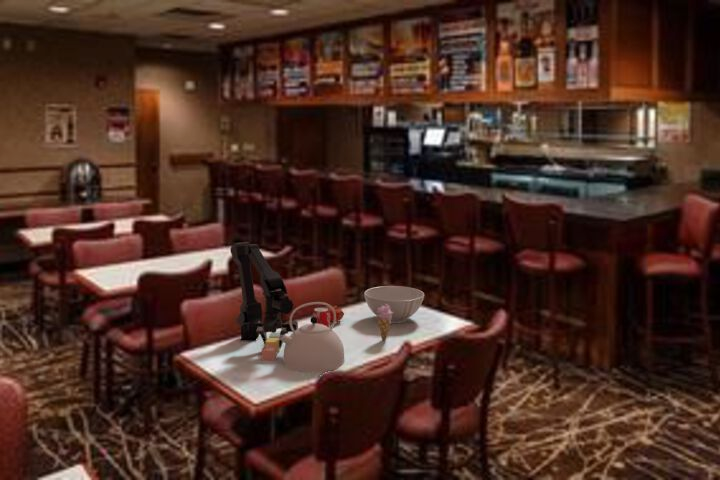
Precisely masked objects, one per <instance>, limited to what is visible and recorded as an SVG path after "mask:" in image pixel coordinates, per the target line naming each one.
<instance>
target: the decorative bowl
mask: <svg viewBox="0 0 720 480" xmlns="http://www.w3.org/2000/svg"><path fill="white" fill-rule="evenodd" d="M363 295H364V300H365V302H366V304H367V306H368V308H369V309H370V310H371V312H372V313H373V314H374V315H375V316H376V315H377V311H378V309H377V308H381V307H382V306H381V305H383V306H385V304H387V305H389V307H390V310H391V312H393V313H392V318H391V323H390V324H402V323H406V322H407V321H408V319H409V318H410V317H412V316H413V315H415V314H416V313H417V312H418V310H419V309H420V307H421V305H422V303H423V301H424V298H425V293H424V292H423V291H422V290H420V289H417V288H413V287H409V286H399V285H386V286H385V285H383V286H376V287H372V288H368V289H366V290H365V291H364V293H363Z"/></svg>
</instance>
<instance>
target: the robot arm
mask: <svg viewBox="0 0 720 480" xmlns="http://www.w3.org/2000/svg"><path fill="white" fill-rule="evenodd" d="M230 254H231V257H232V261H234V263H235V264H236V265H237V267H238V274H239V275H238V276H239V281H240V290H241V295H242V302H241V305H240V307H239V308H240V309H239V311H240V313H239V314H238V316H237V317H236V324H237V325H238V326H240V339H239V340H240V341H250V340H256V339H257V340H258V339H259V336H260V337H261V339H262V342H263V344H264V345H263V346H265V342H266V340H267V338H268V336H267V333H277V330H279V329H280V332H279V333H280V335H286V334H288V333H293V332H292V330H291V327H290V323H289V321H290V320H287V321H286V322H285V323H283V321H282V319H281V314H284V315H288V314H290V313H292V312H293V308H294V302H293V301H292V300H291V298H289V295H288V288H287V287H286V285H285V283H284V279H283V278H282V276H281V275H280V274H279V273H278V272H277V271H275V270H274V269H272V268H271V266H270V264H269V263H268V261H267V260H266V258H265V256H264V255H263V253H262V251H261V250H260V246H259V245H258V244H256V243H254V244H253V243H250V242H249V241H243V242H237V243H236V242H235V243H233V244H232V245H231V247H230ZM251 263H252V265H253V267H254V268H255V269H256V271H257V273H258V275H259V278H260V280H259V284H260V286H261V289H263V292H262V295H263V296H264V315H263V308H262V303H261V302H259V301H258V300H257V299H256V294H255V289H254V288H255V287H254V281H253V274H252V269H251ZM263 316H264V318H263ZM262 319H263V322H262ZM292 326H293V329H294V331H295V330H297V329H298V328H299V322H298V321H297V320H292ZM257 340H256V341H257ZM250 342H251V341H250ZM281 345H282V341H281V340H280V342H279V348H280V347H282V346H283V345H282V346H281ZM280 349H281V348H280Z"/></svg>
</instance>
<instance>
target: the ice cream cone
mask: <svg viewBox="0 0 720 480" xmlns="http://www.w3.org/2000/svg"><path fill="white" fill-rule="evenodd" d="M381 306H382V307H381V308H377V309H378V311H377V315H375V316H376V318H377V319H376V320H377V325H378V329H379V333H380V337H381V339H382V341H384V342H385V341H387V337H388V334H389V331H390V327H391V324H392V323H391V318H392V313H393V312H391V310H390V307H389V305H387V304H385V306H383V305H381Z"/></svg>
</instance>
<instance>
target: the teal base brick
mask: <svg viewBox="0 0 720 480" xmlns="http://www.w3.org/2000/svg"><path fill="white" fill-rule="evenodd" d="M279 336H280V332H275V333H272V332H270V334H269V335H268V338H278V337H279ZM282 344H283V345H284V342H283V341H282ZM283 345H281V347H283Z"/></svg>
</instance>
